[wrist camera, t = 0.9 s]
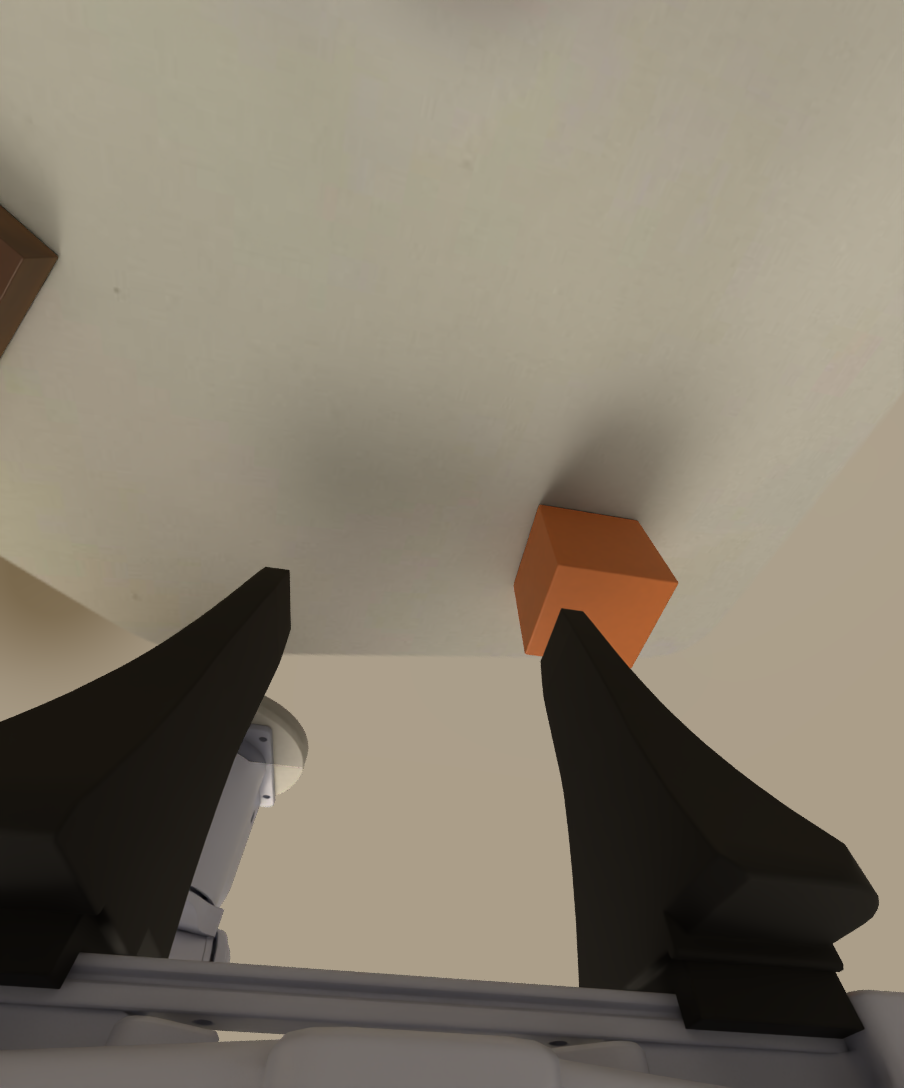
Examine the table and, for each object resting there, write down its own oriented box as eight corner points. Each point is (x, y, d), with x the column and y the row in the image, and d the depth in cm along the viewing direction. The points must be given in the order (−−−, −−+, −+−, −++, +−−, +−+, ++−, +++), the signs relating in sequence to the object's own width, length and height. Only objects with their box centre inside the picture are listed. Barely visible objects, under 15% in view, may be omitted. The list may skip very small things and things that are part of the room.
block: (602, 598, 23) (631, 669, 19) (513, 585, 22) (524, 654, 19) (638, 520, 20) (679, 582, 17) (538, 503, 20) (558, 563, 16)
